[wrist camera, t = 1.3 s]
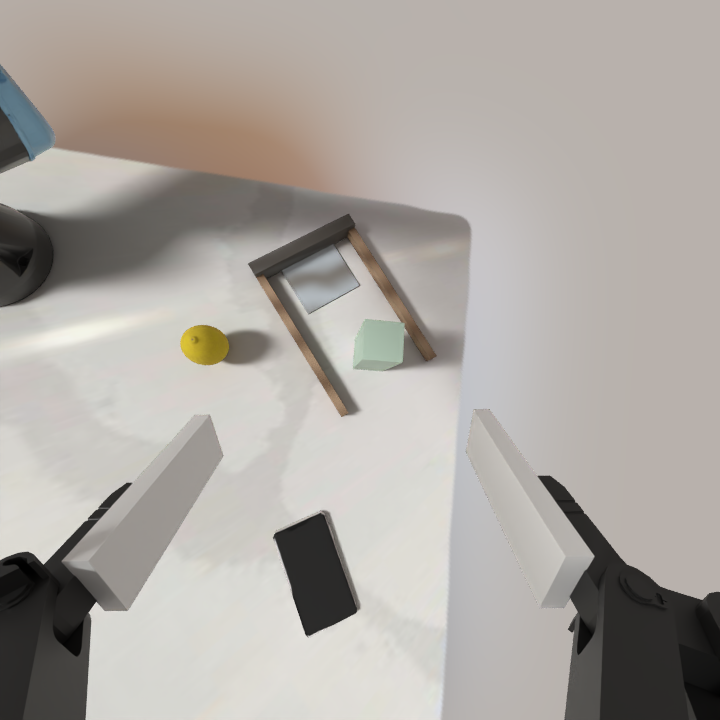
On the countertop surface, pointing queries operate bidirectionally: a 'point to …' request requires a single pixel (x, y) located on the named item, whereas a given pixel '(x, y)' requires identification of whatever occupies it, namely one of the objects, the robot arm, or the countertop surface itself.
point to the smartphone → (314, 573)
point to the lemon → (204, 345)
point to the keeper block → (379, 345)
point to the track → (327, 284)
